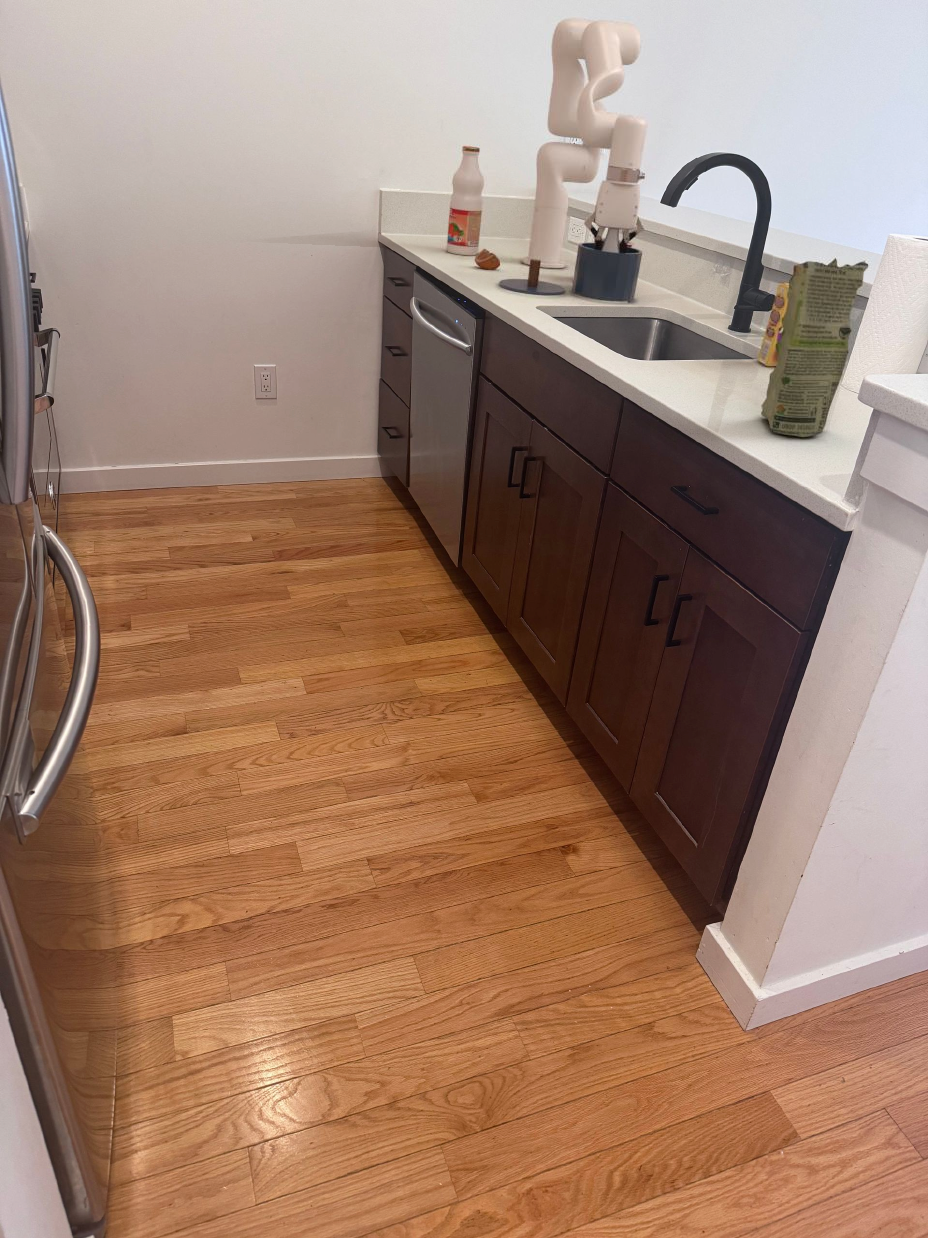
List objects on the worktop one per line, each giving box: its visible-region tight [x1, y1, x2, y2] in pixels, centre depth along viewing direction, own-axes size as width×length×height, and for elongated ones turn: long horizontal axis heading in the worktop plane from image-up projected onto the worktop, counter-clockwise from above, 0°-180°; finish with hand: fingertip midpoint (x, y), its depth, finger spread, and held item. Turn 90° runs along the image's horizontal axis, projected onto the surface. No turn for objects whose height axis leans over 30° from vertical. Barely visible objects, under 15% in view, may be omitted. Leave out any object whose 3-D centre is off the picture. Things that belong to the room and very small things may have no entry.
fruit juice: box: [446, 145, 485, 256], centre depth 254 cm, size 9×9×28 cm
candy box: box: [757, 281, 789, 367], centre depth 171 cm, size 9×4×15 cm, turn 103°
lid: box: [498, 259, 566, 296], centre depth 217 cm, size 17×17×7 cm
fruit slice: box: [474, 248, 501, 271], centre depth 237 cm, size 8×7×5 cm
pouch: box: [760, 257, 869, 438], centre depth 132 cm, size 11×12×25 cm
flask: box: [601, 228, 620, 253], centre depth 214 cm, size 7×7×10 cm
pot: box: [571, 241, 643, 304], centre depth 218 cm, size 16×16×12 cm
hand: (608, 257), depth 216 cm, fingers closed on flask, 4 cm apart
